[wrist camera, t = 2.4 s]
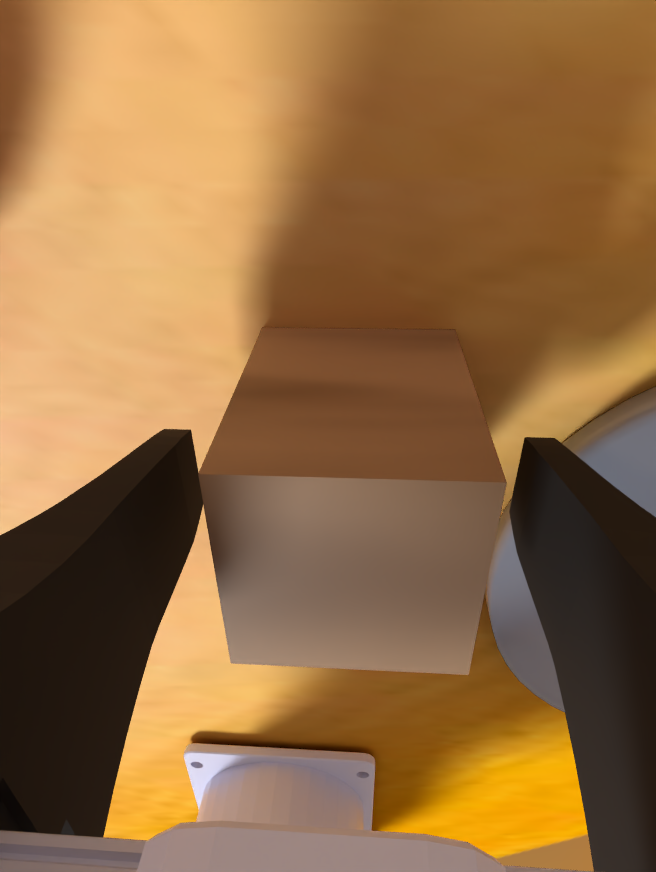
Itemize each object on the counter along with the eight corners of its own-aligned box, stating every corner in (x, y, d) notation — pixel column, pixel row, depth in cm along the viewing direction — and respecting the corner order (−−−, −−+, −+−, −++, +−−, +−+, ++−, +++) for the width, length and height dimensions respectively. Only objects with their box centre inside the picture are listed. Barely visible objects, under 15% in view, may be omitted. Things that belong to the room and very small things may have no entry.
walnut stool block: (437, 483, 16) (468, 675, 11) (275, 479, 16) (230, 663, 11) (454, 329, 13) (506, 482, 8) (262, 327, 14) (198, 474, 8)
